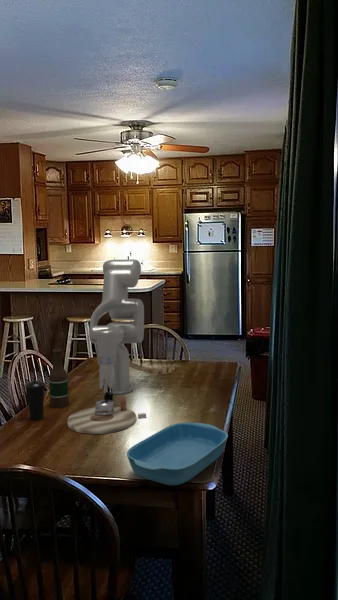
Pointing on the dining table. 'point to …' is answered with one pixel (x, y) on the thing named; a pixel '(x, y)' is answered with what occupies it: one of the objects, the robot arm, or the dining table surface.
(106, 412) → the cover
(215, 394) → the dining table surface
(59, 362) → the beer bottle
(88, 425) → the turntable
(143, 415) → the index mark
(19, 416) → the dining table surface
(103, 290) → the robot arm
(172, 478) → the casserole dish
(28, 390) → the drinking cup
